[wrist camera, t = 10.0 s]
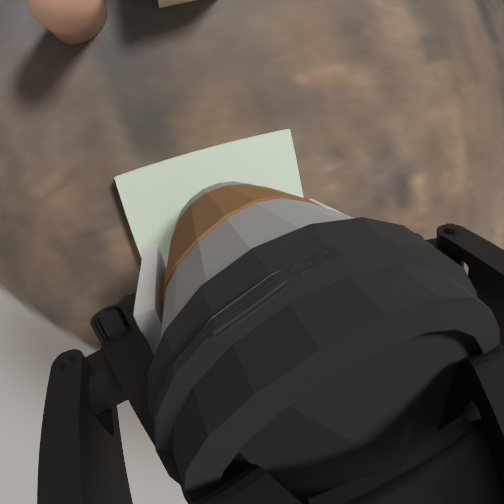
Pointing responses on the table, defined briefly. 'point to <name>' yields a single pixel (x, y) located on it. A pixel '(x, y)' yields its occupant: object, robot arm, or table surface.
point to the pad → (202, 182)
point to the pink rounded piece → (70, 18)
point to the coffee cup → (304, 340)
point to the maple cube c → (171, 2)
